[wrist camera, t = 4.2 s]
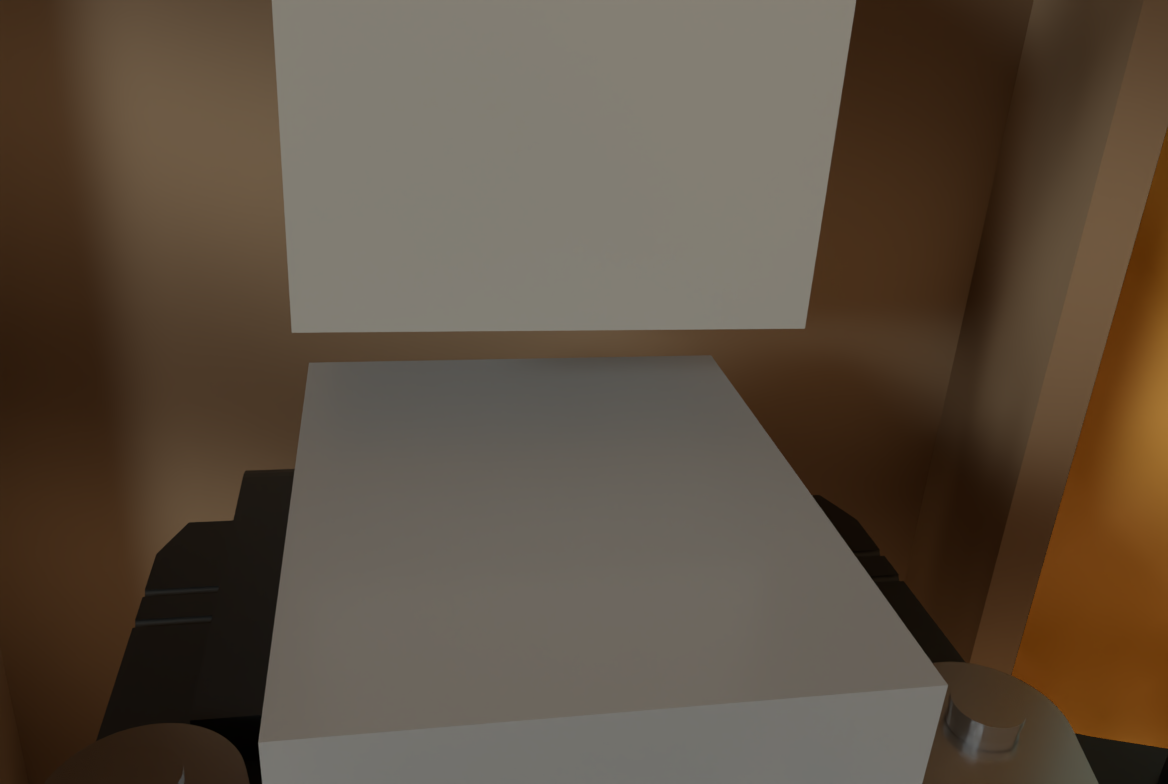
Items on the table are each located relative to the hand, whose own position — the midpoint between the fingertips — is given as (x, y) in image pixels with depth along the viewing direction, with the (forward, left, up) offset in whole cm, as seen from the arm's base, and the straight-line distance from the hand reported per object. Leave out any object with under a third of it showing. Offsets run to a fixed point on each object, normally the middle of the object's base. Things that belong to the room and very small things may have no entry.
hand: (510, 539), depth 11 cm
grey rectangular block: (-5, 0, -3) cm, 6 cm away
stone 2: (0, 0, 0) cm, 0 cm away
